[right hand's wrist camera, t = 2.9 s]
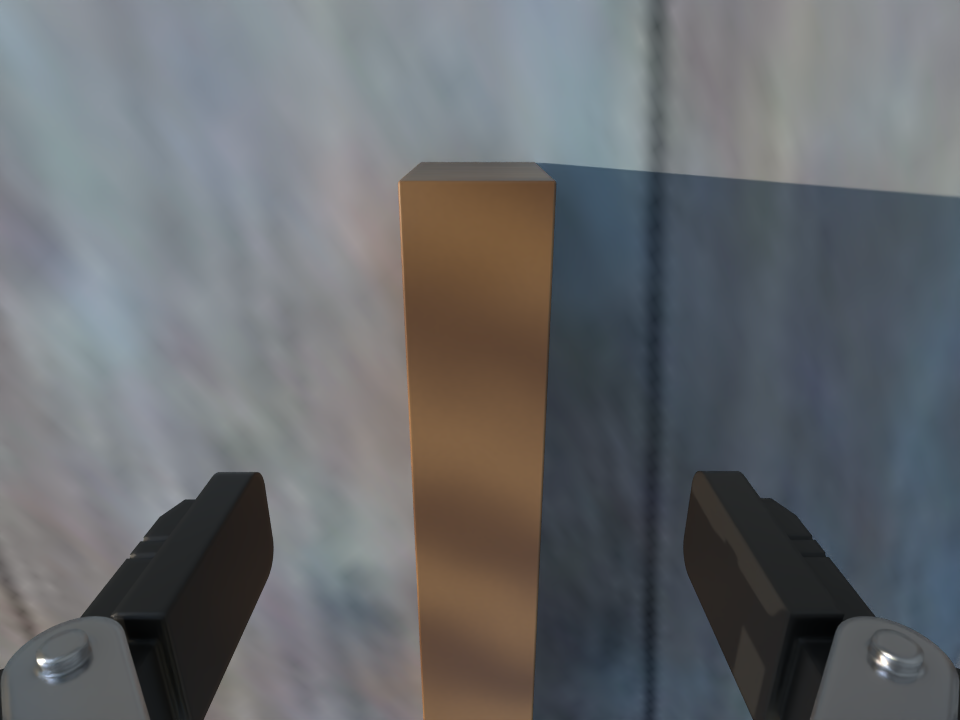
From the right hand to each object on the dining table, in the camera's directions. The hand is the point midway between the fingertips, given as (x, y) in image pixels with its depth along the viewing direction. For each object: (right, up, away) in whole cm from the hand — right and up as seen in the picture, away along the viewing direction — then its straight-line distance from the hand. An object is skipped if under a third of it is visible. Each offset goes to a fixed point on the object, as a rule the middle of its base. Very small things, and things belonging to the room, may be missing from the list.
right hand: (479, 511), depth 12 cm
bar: (0, -25, +26) cm, 36 cm away
